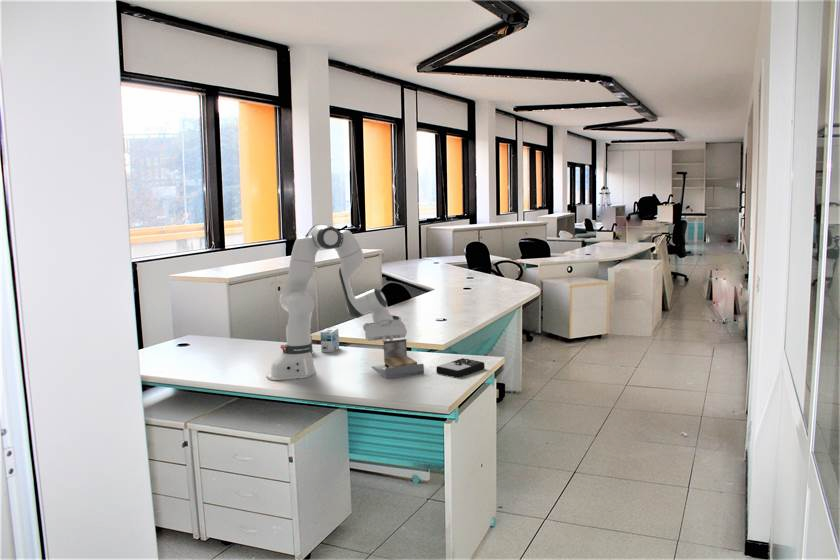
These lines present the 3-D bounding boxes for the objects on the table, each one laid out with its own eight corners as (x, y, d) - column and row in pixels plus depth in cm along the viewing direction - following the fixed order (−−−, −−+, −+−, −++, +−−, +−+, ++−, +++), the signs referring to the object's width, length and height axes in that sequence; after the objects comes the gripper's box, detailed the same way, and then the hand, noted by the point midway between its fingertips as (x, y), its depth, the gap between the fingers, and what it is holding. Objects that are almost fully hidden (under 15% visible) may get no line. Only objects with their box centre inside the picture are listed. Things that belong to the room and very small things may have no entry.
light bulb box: (333, 352, 358) (332, 332, 356) (320, 352, 359) (319, 332, 358) (339, 347, 368) (338, 328, 367) (327, 347, 370) (326, 327, 368)
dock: (386, 380, 305) (385, 368, 304) (370, 368, 327) (370, 357, 326) (423, 375, 311) (423, 364, 311) (406, 364, 333) (405, 353, 332)
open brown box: (394, 374, 307) (393, 347, 305) (384, 367, 320) (383, 341, 319) (417, 371, 311) (416, 344, 310) (406, 364, 324) (405, 338, 323)
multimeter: (485, 369, 316) (484, 359, 316) (458, 379, 302) (457, 368, 302) (463, 365, 325) (462, 355, 324) (436, 374, 311) (435, 363, 311)
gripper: (363, 319, 327) (369, 344, 319) (403, 316, 334) (410, 339, 326) (361, 327, 332) (367, 351, 324) (400, 323, 339) (407, 347, 331)
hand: (389, 345), depth 325 cm, fingers closed
